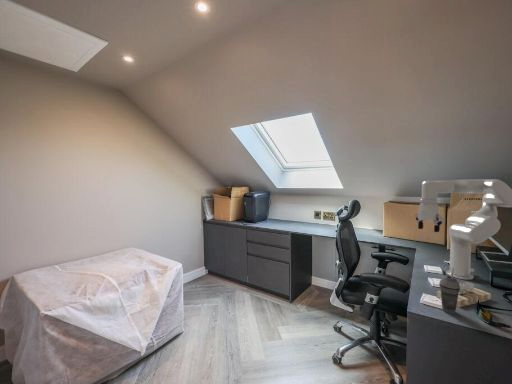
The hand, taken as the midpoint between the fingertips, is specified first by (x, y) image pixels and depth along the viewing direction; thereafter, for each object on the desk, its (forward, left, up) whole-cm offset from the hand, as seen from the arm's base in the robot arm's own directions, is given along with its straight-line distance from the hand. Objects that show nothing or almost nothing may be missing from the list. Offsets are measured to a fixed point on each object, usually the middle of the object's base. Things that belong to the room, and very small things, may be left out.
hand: (428, 230), depth 143 cm
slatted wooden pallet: (+9, +25, -28) cm, 39 cm away
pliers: (-35, -8, -29) cm, 46 cm away
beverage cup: (+28, +31, -28) cm, 51 cm away
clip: (+9, +25, -28) cm, 39 cm away
